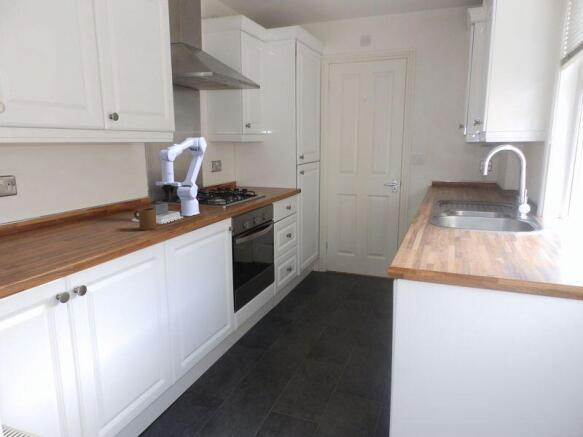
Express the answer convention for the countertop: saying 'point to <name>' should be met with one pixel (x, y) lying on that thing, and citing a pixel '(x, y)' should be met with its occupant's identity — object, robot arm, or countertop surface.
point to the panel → (161, 208)
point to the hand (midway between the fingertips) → (169, 199)
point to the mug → (146, 218)
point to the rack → (165, 217)
